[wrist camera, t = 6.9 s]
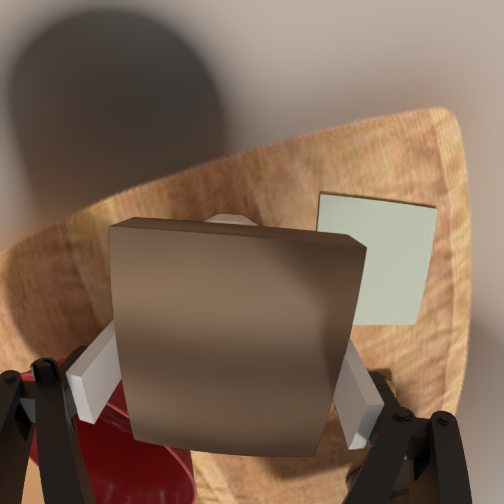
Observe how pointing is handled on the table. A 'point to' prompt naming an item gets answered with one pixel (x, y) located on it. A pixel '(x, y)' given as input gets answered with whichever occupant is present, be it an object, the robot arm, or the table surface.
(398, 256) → the mat
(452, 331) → the table surface
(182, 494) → the mixing bowl
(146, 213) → the table surface
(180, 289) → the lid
